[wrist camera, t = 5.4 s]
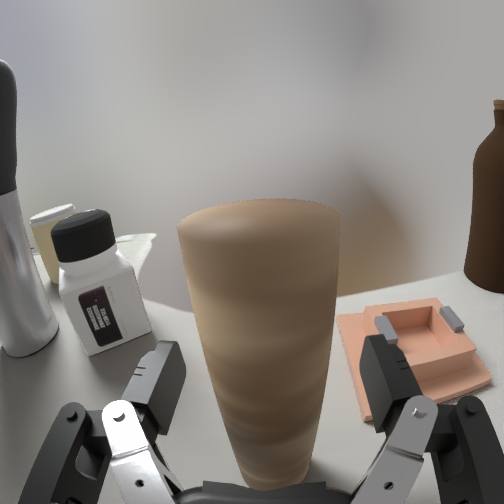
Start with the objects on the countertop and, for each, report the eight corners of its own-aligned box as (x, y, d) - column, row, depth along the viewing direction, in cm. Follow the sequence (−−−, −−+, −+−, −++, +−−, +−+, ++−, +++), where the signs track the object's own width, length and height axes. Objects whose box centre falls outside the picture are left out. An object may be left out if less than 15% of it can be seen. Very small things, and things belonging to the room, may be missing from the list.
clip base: (363, 421, 15) (375, 391, 13) (336, 321, 26) (339, 290, 24) (488, 384, 14) (506, 352, 12) (435, 309, 25) (443, 280, 23)
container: (153, 332, 26) (120, 208, 21) (88, 358, 22) (39, 234, 17) (133, 302, 32) (107, 201, 27) (79, 322, 28) (45, 220, 23)
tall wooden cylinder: (238, 494, 11) (151, 249, 5) (244, 442, 14) (199, 203, 9) (309, 493, 10) (361, 238, 5) (306, 441, 14) (323, 196, 8)
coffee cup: (95, 260, 47) (80, 200, 42) (83, 280, 39) (64, 210, 34) (56, 268, 45) (41, 211, 40) (40, 289, 36) (20, 223, 32)
